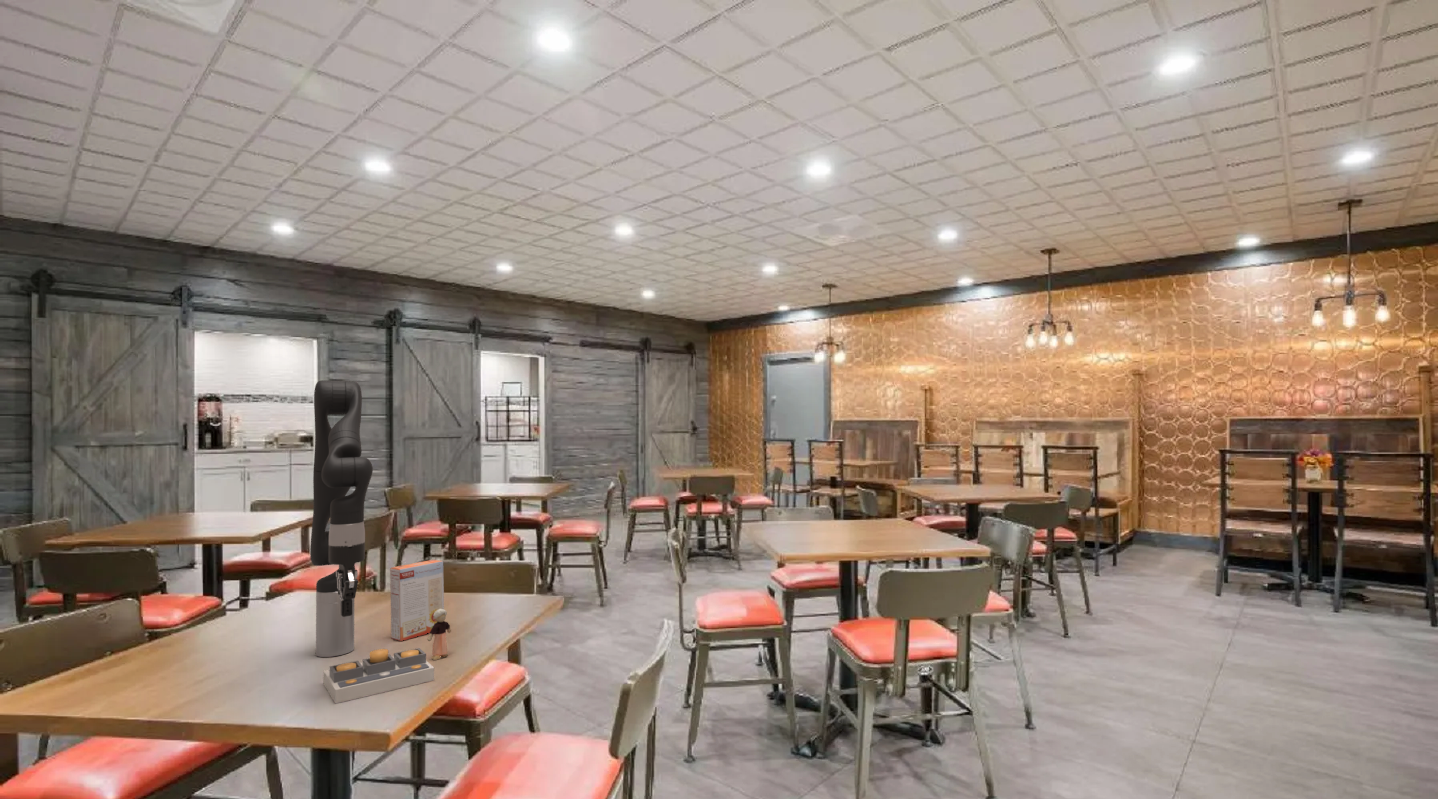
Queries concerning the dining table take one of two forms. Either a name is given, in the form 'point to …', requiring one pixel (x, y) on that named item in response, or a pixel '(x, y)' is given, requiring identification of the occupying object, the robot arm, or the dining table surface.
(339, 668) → the left button
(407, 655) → the right button
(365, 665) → the button console
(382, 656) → the middle button
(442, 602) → the cracker box
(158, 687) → the dining table surface
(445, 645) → the grandmother figurine
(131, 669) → the dining table surface
